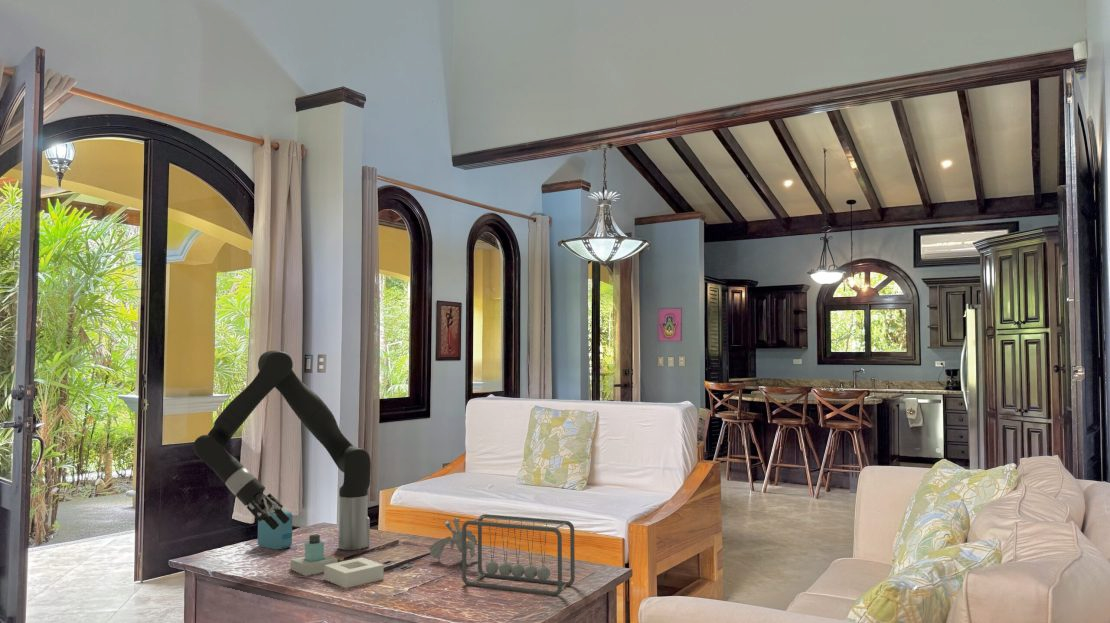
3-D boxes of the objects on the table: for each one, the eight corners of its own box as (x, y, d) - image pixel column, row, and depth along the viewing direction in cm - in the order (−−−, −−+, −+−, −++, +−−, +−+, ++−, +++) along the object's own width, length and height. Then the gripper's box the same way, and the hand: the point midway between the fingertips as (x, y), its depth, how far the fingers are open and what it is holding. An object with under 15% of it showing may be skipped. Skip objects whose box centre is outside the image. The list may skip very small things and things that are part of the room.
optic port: (361, 571, 224) (361, 557, 225) (383, 579, 216) (383, 564, 216) (324, 579, 216) (324, 565, 216) (345, 588, 207) (345, 573, 208)
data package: (292, 547, 254) (292, 511, 255) (281, 550, 250) (281, 513, 251) (268, 543, 260) (268, 508, 261) (257, 546, 256) (257, 510, 257)
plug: (317, 566, 229) (317, 533, 230) (323, 569, 226) (323, 535, 227) (304, 569, 227) (305, 535, 227) (311, 572, 224) (311, 537, 224)
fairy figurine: (483, 559, 227) (462, 519, 226) (437, 577, 233) (416, 537, 233) (496, 544, 236) (475, 505, 235) (450, 561, 242) (431, 523, 242)
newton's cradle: (461, 585, 210) (461, 520, 211) (479, 575, 220) (479, 513, 221) (561, 597, 199) (560, 528, 200) (575, 586, 208) (574, 520, 209)
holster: (321, 563, 234) (321, 553, 234) (337, 569, 226) (337, 559, 227) (290, 569, 227) (290, 559, 227) (306, 576, 219) (306, 565, 220)
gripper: (244, 480, 221) (282, 520, 221) (263, 473, 236) (299, 510, 235) (225, 499, 221) (263, 539, 220) (246, 491, 235) (282, 528, 234)
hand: (282, 524), depth 228 cm, fingers open, 8 cm apart
